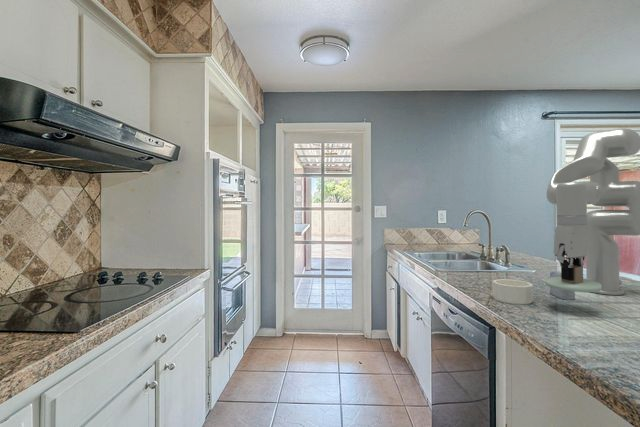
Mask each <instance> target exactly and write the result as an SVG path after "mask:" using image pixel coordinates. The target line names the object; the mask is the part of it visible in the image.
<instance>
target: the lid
mask: <svg viewBox="0 0 640 427" xmlns="http://www.w3.org/2000/svg"><path fill="white" fill-rule="evenodd" d="M572 268H574V280H573V281H570V280H565V279H562V278H561V277H550V276H549V277H546V278H545V279H544V280H545V281H544V283H545V285H546V286H548V287H549V288H550V287H553V288H557V289H562V290H569V291H575V292H581V293H593V292H595V291H600V290H602V285H601V284H600V283H598V282H595V281H592V280H587V278H584V266H583V267H582V266H575V265H572Z"/></svg>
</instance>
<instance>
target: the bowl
mask: <svg viewBox="0 0 640 427" xmlns="http://www.w3.org/2000/svg"><path fill="white" fill-rule="evenodd" d="M533 289H534V284H533V283H531V282H528V281H524V280H520V279H518V280H517V279H510V278H509V279H508V278H504V279H503V278H500V279H493V281H492V298H493V300H495V301H497V302H500V303H503V304H504V303H505V304H509V305H517V306H519V305H520V306H525V305H531V304H533V302H534V301H533V299H534V298H533V297H534V293H533V292H534V290H533Z"/></svg>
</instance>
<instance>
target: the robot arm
mask: <svg viewBox="0 0 640 427" xmlns="http://www.w3.org/2000/svg"><path fill="white" fill-rule="evenodd" d="M639 152H640V134H639V133H638V132H637V131H635V130H632V129H631V128H615V129H609V130H608V129H607V130H603V131H596V132H591V133H589V134H586V135H584V136H583V137H581V139H580V141H579V143H578V145H577V148H576V152H575V153H574V154H575V155H574V158H573V160H571V161H570V162H568V163H566V164H565V165H563V166H562V167H561V168H559V169H558V170H557V171H555V172H554V174H552V176H551V177H550V181H549V183H548V186H547V188H546V189H547V190H546V199H547V201H548V202H549V203H550V204H552V205H556V216H555V217H556V226H555V230H554V238H553V239H554V241H553V255H554V257H556V258H555V259H556V260H557V261H558V262H559V266H560V270H561V271H560V272H561V278H562V279H565V280H570V281H573V280H574V268H572V265H575V266H582V267H583V268H584V264H585V263H584V261H585V258H586V279H587V280H592V281H595V282H598V283H600V284H601V285H602V290H600V291H595V292H592V293H594V294H599V295H600V294H601V295H609V296H610V295H611V296H624V295H625V294H626V290H625V289H622V288H620V286H621V285H622V284H623V281H622V280H620V246H619V244H618V243H617V242H616V240H614V239H613V237H612V236H626V237H627V236H633V237H634V236H635V237H636V236H640V181H638V180H625V181H620V168H619V167H618V166H617V165H616V164H615V163H614V162H613V161H611V160H609V159H608V158H617V157H626V156H627V157H628V156H634V155H636V154H638V153H639ZM588 177H590V178H589V180H588V181H587V180H586V181H578V180H582V179H585V178H588ZM588 205H593V206H594V207H606V208H611V207H617V208H618V207H621V208H622V207H627V208H628V209H597V210H596V209H594V210H591V211H588V210H587V208H588V207H587V206H588Z"/></svg>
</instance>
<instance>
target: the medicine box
mask: <svg viewBox="0 0 640 427" xmlns="http://www.w3.org/2000/svg"><path fill="white" fill-rule="evenodd" d="M549 277H561V271H549ZM549 289H550V290H549V292H550V293H549V294H551V295H552V296H555V297H557V298H559V299H561V300H568V301H569V300H573V301H574V300H576V291H569V290H562V289H557V288H553V287H550V286H549Z"/></svg>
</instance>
